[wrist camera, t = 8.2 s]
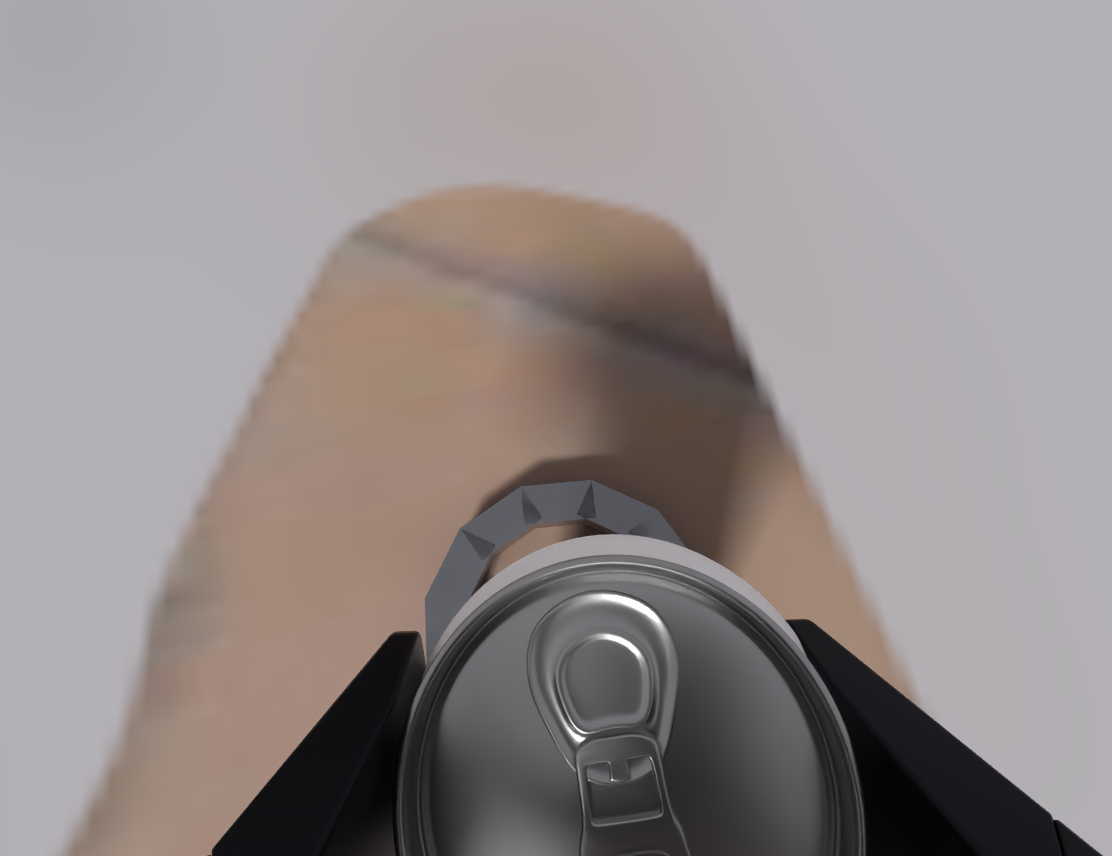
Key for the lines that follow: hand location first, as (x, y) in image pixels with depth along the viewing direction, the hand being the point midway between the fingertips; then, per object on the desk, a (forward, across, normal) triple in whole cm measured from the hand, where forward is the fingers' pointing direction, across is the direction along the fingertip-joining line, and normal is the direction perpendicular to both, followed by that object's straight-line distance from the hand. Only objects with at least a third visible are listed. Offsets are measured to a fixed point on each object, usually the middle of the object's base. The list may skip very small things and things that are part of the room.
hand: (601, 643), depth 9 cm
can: (+6, -1, +8) cm, 10 cm away
